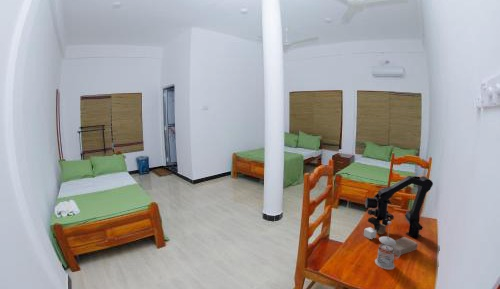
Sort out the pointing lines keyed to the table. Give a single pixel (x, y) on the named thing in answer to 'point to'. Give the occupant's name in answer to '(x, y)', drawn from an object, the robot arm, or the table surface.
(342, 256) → the table surface
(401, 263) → the table surface
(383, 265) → the french press
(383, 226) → the walnut cube
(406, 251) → the brick
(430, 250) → the table surface
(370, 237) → the white cube
